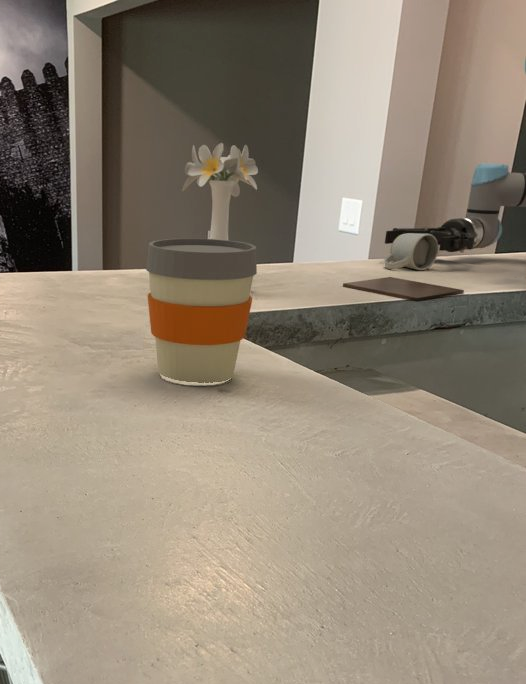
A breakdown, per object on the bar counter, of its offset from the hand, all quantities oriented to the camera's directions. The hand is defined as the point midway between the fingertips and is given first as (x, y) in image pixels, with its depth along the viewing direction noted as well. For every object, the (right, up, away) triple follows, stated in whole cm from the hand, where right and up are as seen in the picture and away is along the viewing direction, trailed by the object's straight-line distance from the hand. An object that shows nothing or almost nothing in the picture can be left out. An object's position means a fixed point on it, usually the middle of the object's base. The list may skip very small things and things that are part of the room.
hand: (413, 240), depth 171 cm
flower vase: (-47, -19, -29) cm, 59 cm away
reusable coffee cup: (-53, -43, -79) cm, 105 cm away
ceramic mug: (-1, -6, +2) cm, 6 cm away
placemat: (-10, -17, -23) cm, 30 cm away
